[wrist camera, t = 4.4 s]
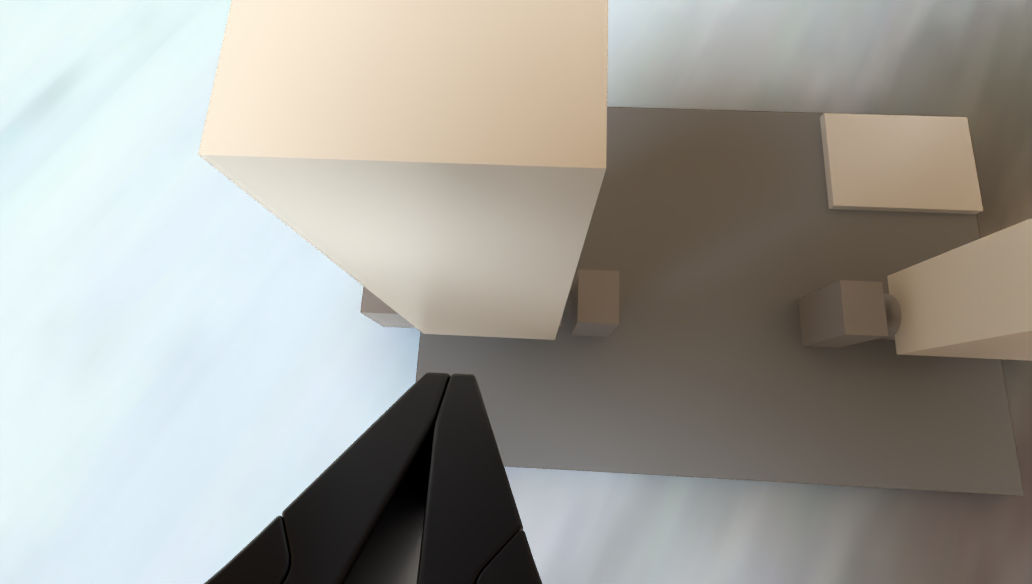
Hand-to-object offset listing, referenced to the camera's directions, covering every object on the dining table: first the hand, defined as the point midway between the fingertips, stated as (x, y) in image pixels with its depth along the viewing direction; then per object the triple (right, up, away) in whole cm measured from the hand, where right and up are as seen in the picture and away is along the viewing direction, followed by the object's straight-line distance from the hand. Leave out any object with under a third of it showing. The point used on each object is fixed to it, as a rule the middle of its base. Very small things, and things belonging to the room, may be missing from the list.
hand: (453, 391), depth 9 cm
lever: (0, +1, +7) cm, 7 cm away
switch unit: (+7, +2, +9) cm, 12 cm away
